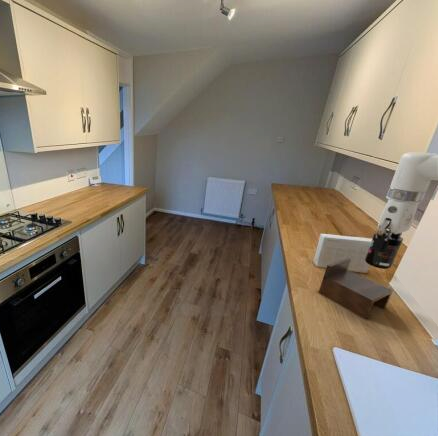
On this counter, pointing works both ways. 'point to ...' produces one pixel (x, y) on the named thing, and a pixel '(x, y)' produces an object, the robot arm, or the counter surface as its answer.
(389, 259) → the supplement container
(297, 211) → the counter surface
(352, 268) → the skincare box
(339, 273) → the shelf
